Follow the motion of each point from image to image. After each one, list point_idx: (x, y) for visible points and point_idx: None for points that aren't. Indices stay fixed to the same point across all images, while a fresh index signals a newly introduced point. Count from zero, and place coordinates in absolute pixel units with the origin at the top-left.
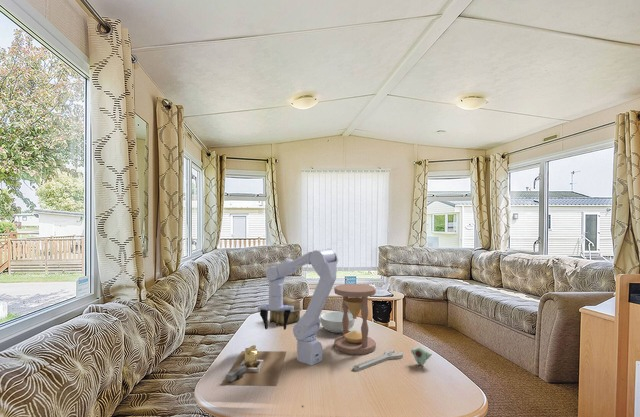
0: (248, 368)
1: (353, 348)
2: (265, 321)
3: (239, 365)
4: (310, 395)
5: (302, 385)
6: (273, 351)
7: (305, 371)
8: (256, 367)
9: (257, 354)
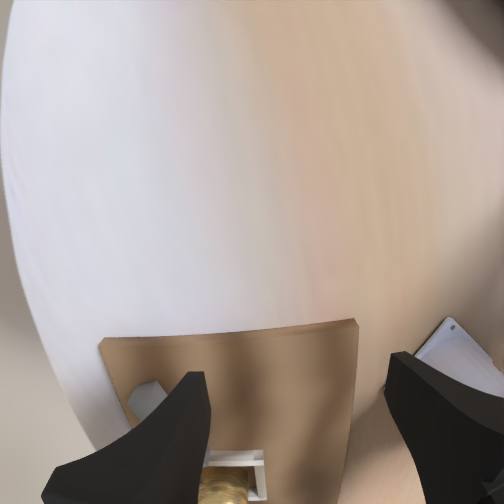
0: None
1: None
2: (194, 483)
3: None
4: (408, 498)
5: (399, 483)
6: (278, 339)
7: None
8: (248, 479)
9: None
